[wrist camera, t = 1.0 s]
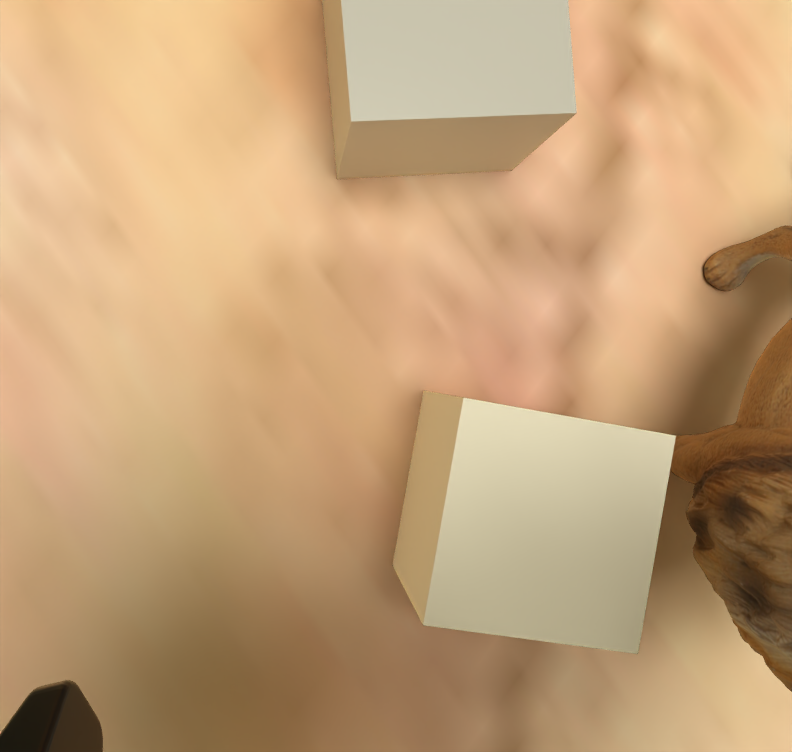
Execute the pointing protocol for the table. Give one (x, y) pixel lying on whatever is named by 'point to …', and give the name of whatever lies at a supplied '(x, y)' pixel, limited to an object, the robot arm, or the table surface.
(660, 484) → the off-white cube
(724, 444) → the lion figurine
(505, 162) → the grey cube
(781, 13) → the table surface
